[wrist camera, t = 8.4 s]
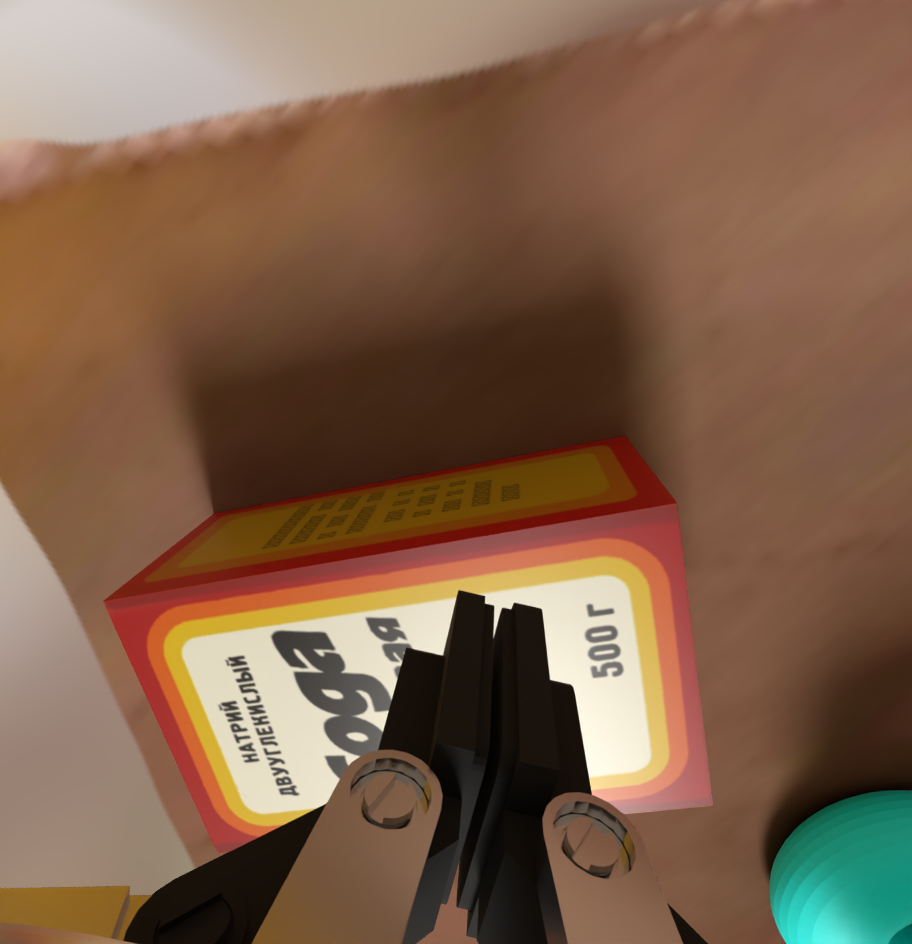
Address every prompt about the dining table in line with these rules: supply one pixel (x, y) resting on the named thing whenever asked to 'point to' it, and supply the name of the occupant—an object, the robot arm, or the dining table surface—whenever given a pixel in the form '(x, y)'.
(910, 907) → the donuts
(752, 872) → the dining table surface
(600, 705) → the baking soda box
